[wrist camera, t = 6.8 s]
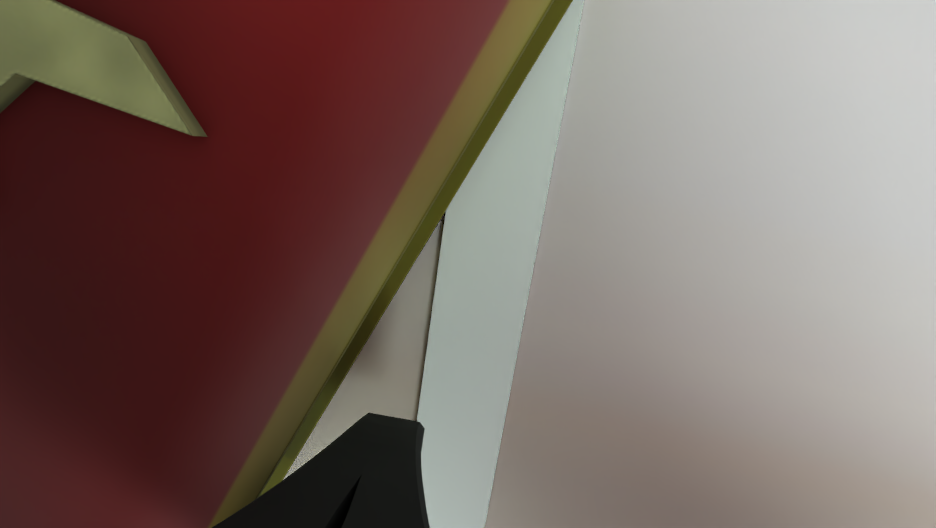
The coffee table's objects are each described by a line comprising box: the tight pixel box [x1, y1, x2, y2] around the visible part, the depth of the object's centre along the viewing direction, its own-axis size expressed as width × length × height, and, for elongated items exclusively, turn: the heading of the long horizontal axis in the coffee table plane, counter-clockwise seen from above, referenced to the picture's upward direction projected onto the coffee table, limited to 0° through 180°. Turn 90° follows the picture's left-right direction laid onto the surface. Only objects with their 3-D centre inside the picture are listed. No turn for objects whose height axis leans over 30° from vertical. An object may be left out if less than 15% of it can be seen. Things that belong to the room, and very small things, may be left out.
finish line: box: [417, 0, 584, 528], centre depth 9 cm, size 36×3×4 cm, turn 172°
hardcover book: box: [0, 0, 573, 528], centre depth 8 cm, size 12×21×4 cm, turn 148°
